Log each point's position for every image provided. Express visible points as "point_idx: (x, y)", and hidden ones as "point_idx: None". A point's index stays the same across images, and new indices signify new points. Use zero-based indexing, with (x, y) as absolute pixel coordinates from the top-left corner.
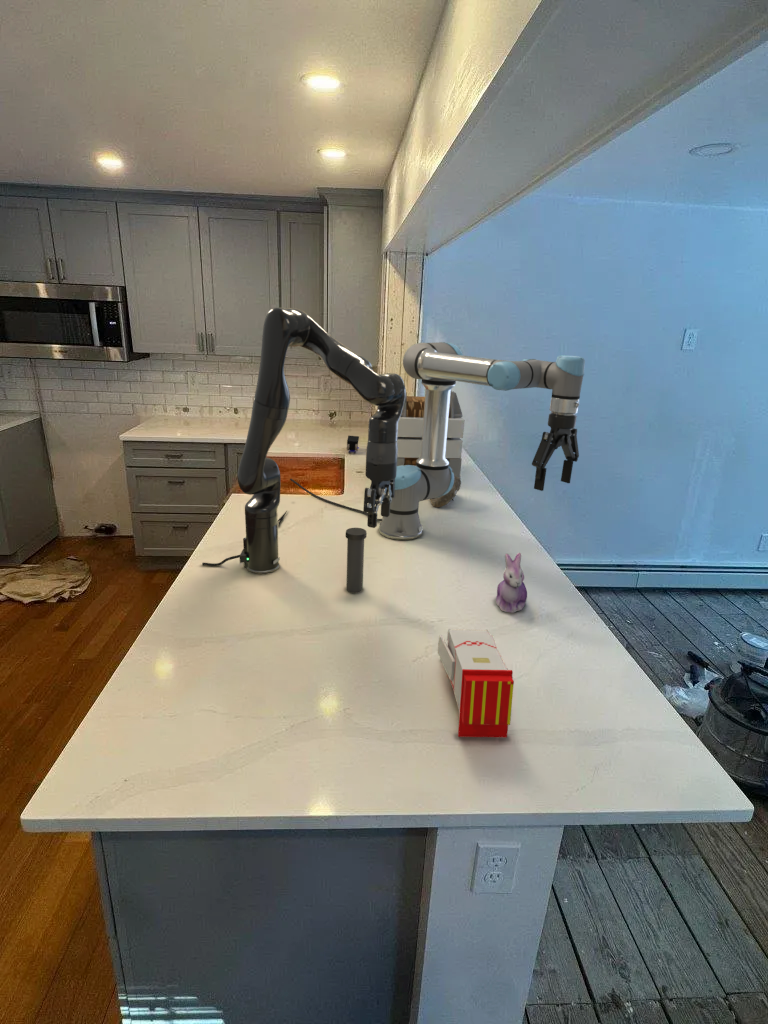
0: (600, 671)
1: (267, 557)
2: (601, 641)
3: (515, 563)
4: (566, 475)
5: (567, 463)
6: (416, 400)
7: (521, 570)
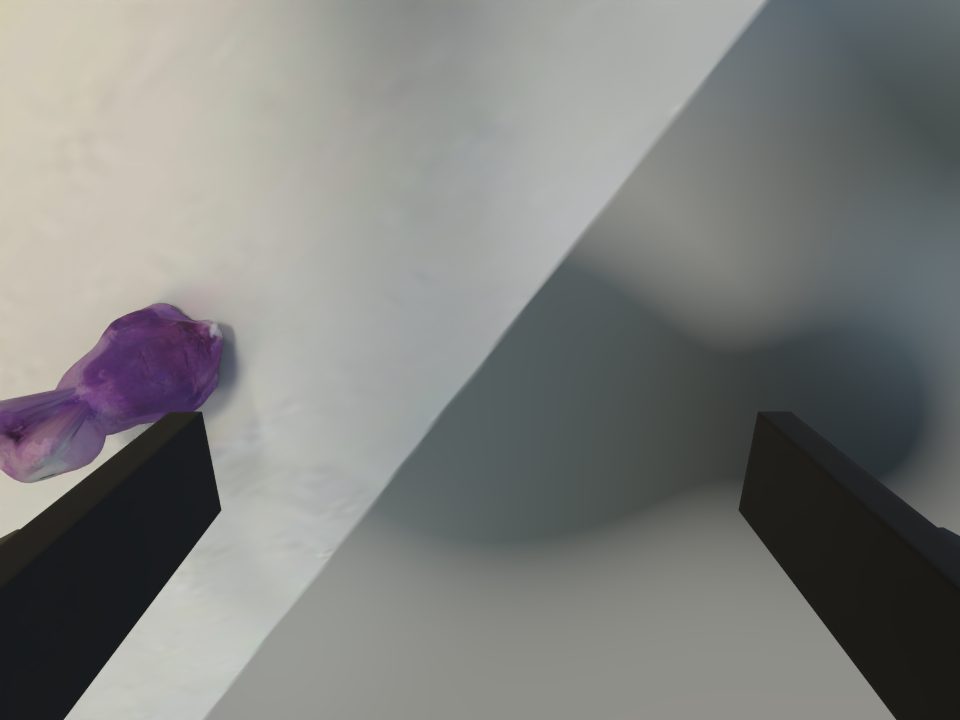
0: (152, 657)
1: None
2: (262, 607)
3: (12, 458)
4: (796, 530)
5: (950, 681)
6: None
7: (50, 471)
